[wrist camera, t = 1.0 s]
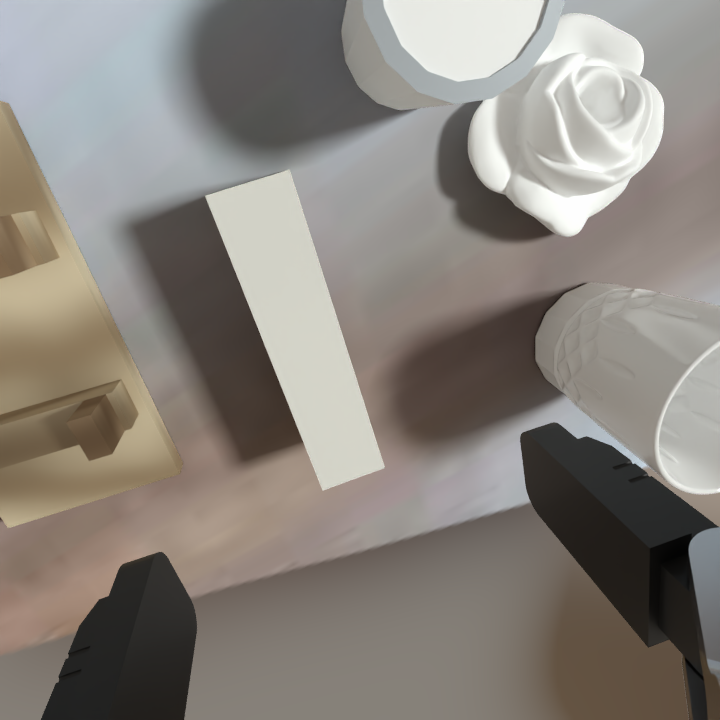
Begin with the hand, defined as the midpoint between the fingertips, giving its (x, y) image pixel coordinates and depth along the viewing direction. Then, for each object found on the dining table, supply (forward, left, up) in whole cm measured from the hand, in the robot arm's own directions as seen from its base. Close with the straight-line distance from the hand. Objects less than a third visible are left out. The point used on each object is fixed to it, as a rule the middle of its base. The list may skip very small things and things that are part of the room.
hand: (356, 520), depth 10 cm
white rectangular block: (0, 0, -16) cm, 16 cm away
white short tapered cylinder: (-11, +8, -16) cm, 21 cm away
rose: (-6, +15, -16) cm, 22 cm away
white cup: (+6, +16, -16) cm, 23 cm away
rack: (-3, -13, -15) cm, 20 cm away
